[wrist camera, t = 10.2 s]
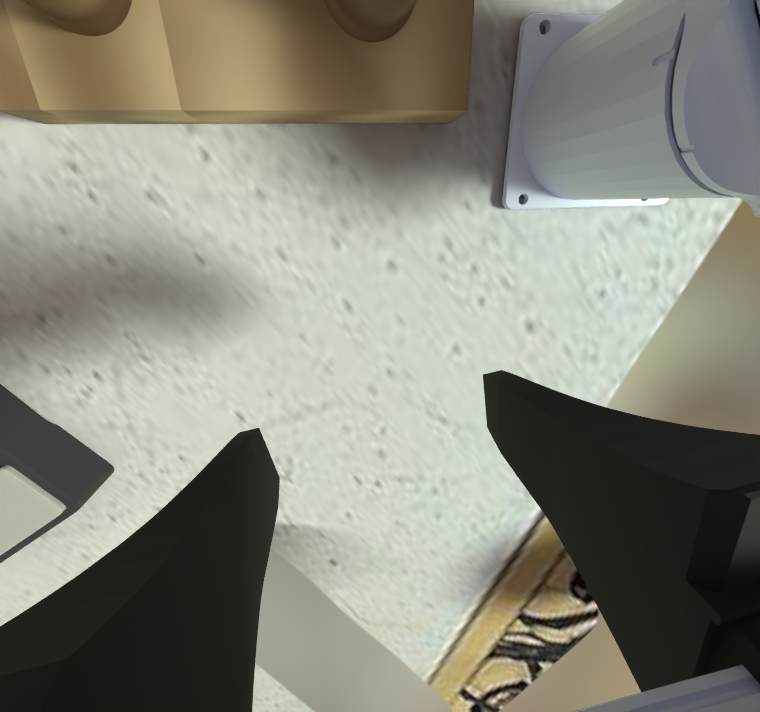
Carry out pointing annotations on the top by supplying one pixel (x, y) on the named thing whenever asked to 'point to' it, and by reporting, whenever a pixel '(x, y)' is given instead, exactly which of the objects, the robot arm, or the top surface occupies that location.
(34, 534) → the calculator
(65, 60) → the wooden peg board
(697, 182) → the robot arm
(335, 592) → the top surface
